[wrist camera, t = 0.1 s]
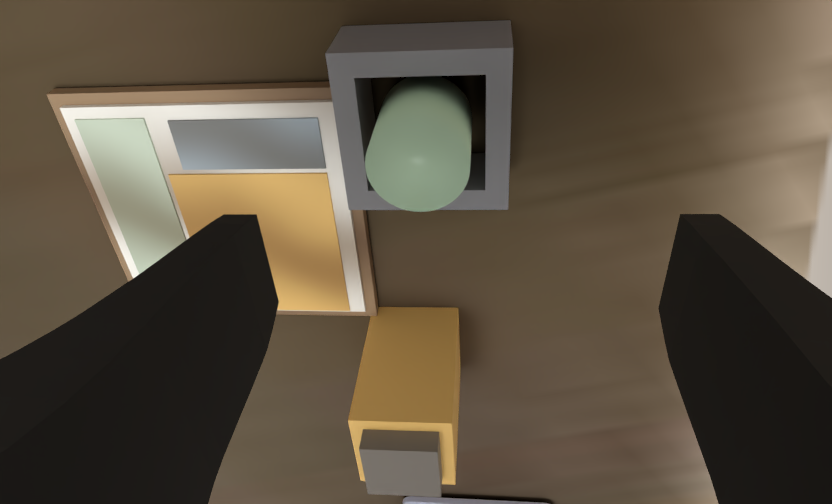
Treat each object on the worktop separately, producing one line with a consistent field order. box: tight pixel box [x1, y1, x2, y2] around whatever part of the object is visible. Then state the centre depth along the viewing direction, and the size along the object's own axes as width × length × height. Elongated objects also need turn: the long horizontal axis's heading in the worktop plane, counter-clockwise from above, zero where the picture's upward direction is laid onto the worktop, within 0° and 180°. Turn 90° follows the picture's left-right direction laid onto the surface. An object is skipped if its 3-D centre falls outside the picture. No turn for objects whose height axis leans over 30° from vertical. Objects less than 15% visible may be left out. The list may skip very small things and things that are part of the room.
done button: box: [365, 76, 472, 212], centre depth 18 cm, size 3×3×3 cm
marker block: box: [348, 307, 461, 497], centre depth 24 cm, size 4×4×6 cm
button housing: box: [325, 20, 513, 210], centre depth 19 cm, size 5×5×2 cm
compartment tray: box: [47, 81, 379, 316], centre depth 23 cm, size 10×10×1 cm
